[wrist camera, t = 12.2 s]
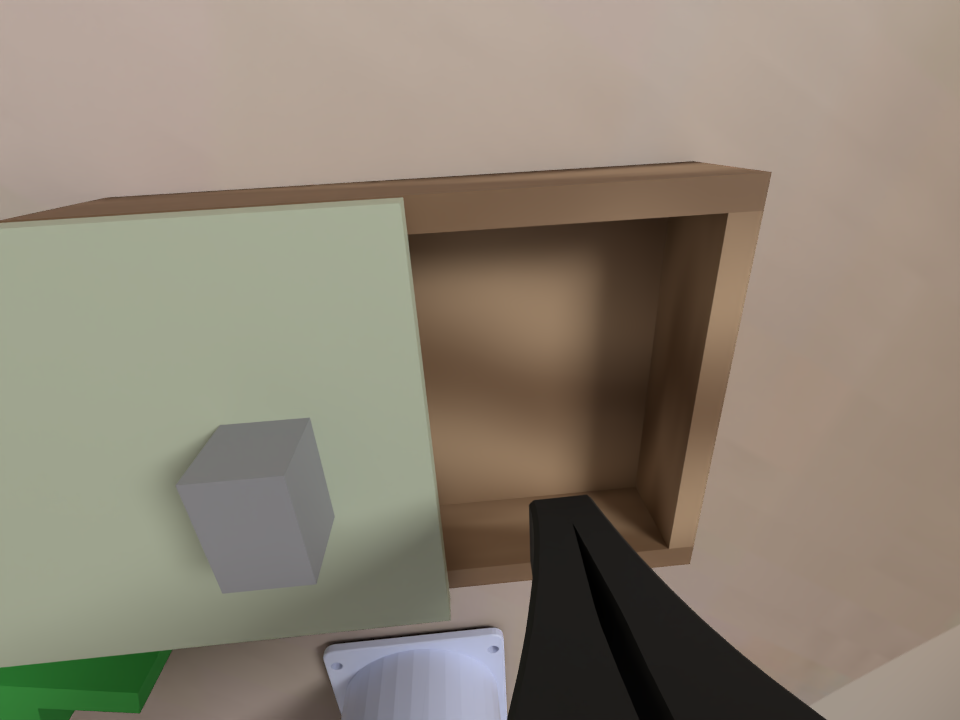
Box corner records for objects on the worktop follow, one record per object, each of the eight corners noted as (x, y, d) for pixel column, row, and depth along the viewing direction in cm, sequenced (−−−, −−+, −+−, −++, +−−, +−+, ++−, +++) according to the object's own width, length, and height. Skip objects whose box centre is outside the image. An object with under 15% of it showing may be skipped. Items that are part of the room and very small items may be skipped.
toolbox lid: (448, 524, 18) (452, 691, 12) (-60, 573, 17) (-284, 773, 12) (411, 181, 12) (389, 222, 7) (-338, 227, 11) (-988, 312, 6)
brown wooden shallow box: (647, 490, 19) (689, 564, 16) (233, 529, 18) (190, 614, 15) (693, 161, 13) (771, 171, 10) (106, 197, 13) (-5, 221, 9)
